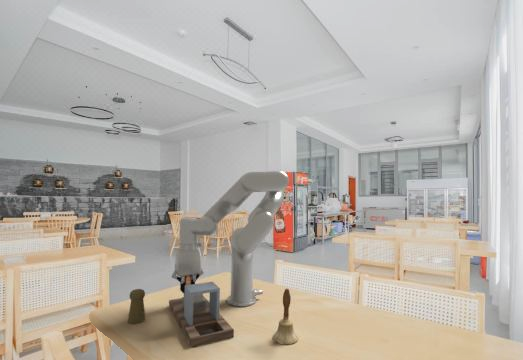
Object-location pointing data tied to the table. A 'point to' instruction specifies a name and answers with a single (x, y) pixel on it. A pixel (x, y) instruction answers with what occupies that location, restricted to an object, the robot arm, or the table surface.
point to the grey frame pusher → (196, 305)
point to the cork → (136, 307)
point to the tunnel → (201, 289)
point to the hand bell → (285, 324)
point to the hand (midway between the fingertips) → (187, 291)
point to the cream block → (197, 298)
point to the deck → (201, 325)
